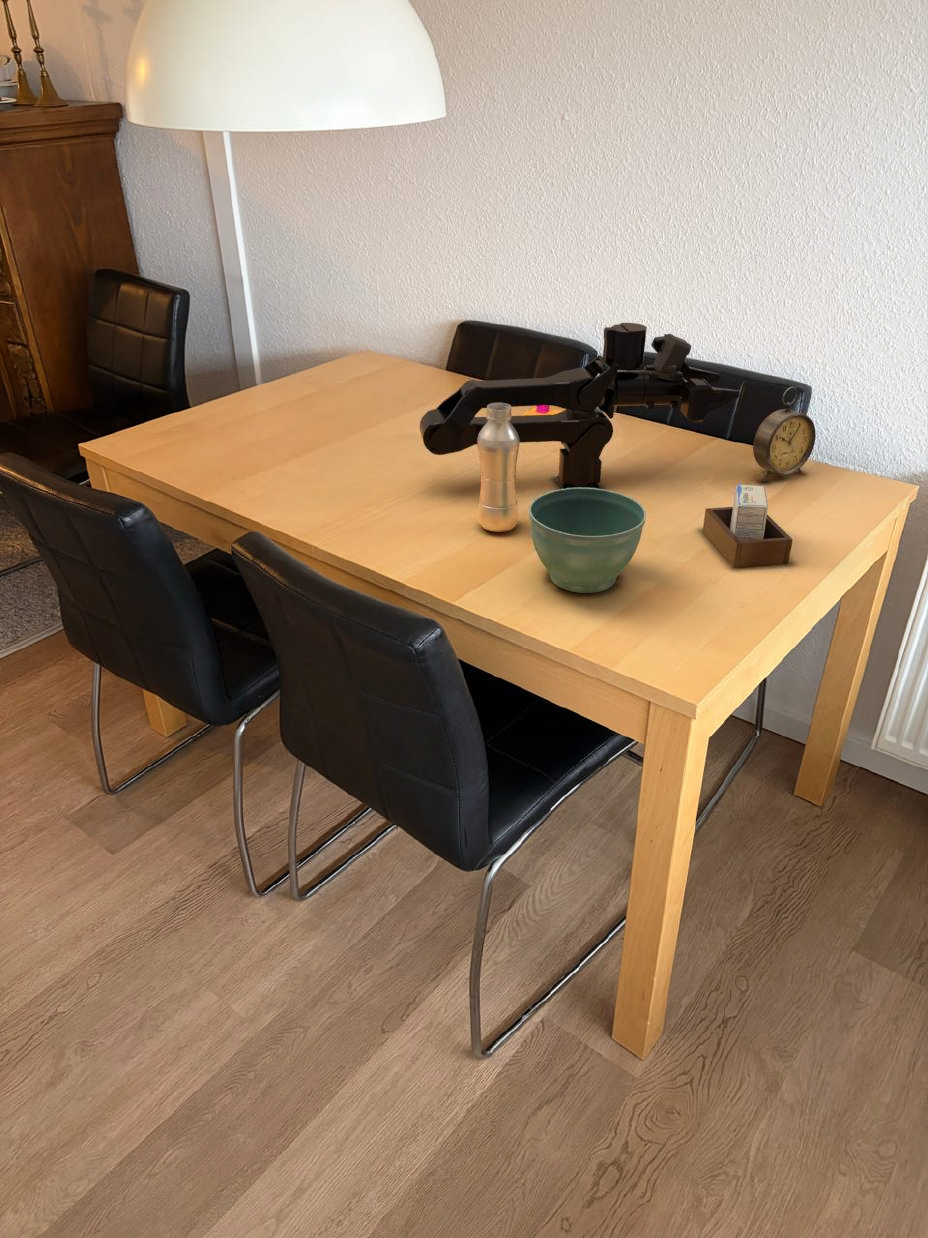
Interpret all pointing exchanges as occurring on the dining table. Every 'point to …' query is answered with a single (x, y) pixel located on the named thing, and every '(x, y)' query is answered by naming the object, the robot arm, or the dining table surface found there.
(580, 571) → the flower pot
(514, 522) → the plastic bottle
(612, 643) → the dining table surface
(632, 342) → the robot arm
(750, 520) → the medicine box
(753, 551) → the wooden box
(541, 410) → the orange slab
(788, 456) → the alarm clock
